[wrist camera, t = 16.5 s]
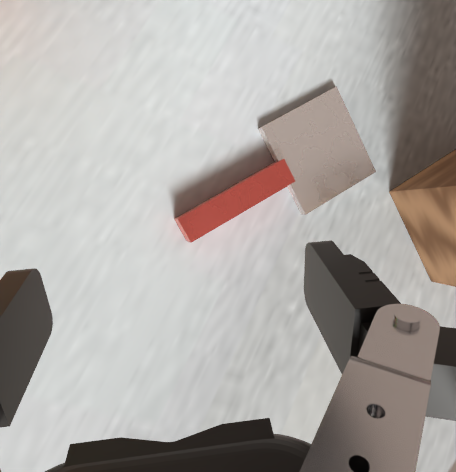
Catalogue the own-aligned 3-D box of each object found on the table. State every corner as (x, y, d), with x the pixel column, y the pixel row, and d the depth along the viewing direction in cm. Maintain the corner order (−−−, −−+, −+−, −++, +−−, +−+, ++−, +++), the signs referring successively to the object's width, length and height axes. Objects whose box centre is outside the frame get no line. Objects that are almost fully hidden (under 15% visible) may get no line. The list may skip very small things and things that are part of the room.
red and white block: (154, 184, 38) (157, 182, 36) (331, 89, 43) (344, 81, 40) (205, 273, 40) (210, 276, 38) (370, 172, 44) (384, 170, 42)
